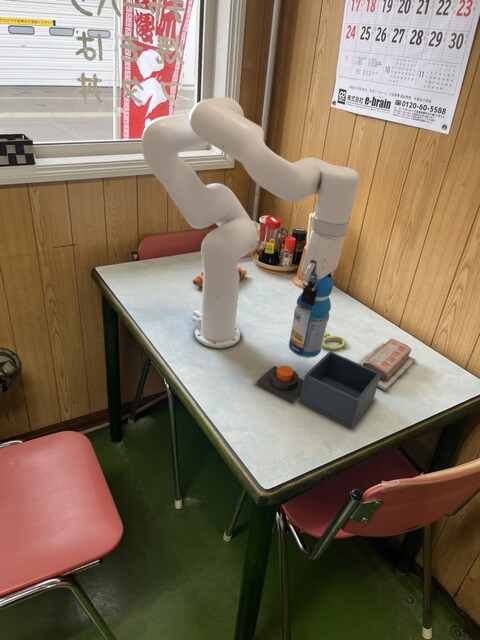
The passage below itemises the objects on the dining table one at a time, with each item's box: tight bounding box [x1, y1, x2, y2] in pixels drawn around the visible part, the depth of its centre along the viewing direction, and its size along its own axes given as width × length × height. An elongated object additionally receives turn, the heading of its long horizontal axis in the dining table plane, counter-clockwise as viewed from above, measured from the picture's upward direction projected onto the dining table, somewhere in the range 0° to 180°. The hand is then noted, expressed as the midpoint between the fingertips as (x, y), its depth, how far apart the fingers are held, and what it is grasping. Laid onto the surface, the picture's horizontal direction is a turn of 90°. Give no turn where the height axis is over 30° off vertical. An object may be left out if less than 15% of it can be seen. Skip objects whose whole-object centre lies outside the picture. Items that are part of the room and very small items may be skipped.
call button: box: [276, 365, 294, 382], centre depth 115 cm, size 4×4×2 cm
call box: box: [256, 365, 304, 404], centre depth 117 cm, size 10×8×3 cm
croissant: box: [192, 266, 248, 288], centre depth 160 cm, size 21×10×8 cm, turn 126°
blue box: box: [299, 350, 381, 429], centre depth 112 cm, size 13×13×8 cm
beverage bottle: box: [288, 273, 334, 359], centre depth 116 cm, size 8×8×20 cm
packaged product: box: [358, 338, 416, 392], centre depth 126 cm, size 18×5×10 cm
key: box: [321, 330, 346, 351], centre depth 136 cm, size 7×12×2 cm, turn 43°
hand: (315, 297), depth 113 cm, fingers closed on beverage bottle, 6 cm apart
